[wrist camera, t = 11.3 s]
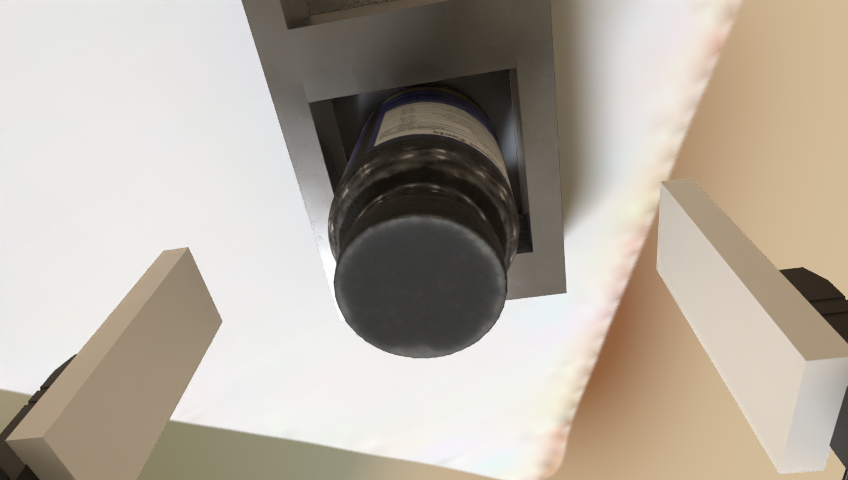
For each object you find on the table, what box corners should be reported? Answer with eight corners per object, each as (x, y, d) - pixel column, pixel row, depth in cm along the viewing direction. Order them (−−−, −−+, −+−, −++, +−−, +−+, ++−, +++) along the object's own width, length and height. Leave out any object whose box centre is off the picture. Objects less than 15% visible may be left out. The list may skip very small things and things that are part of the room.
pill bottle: (430, 235, 26) (422, 411, 17) (331, 151, 24) (257, 295, 15) (528, 148, 24) (583, 293, 14) (427, 47, 22) (413, 137, 12)
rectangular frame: (186, -309, 17) (130, -361, 14) (508, -394, 16) (523, -470, 13) (352, 277, 28) (340, 320, 25) (552, 251, 26) (566, 293, 23)
